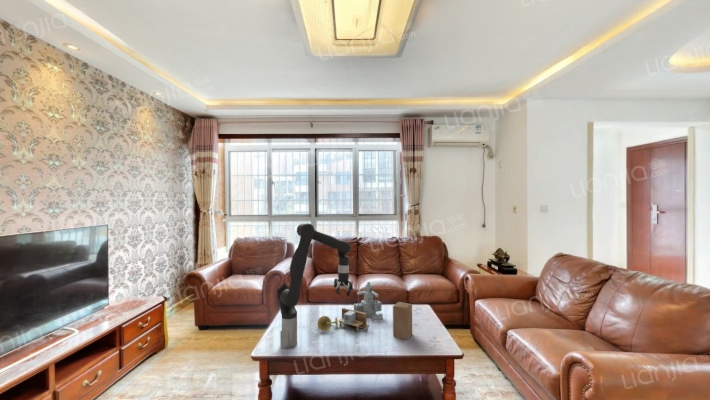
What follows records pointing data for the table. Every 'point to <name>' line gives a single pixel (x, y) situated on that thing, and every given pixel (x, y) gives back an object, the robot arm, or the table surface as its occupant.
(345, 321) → the grey rectangular box
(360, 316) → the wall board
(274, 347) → the table surface
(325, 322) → the wall sconce
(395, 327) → the block
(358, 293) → the castle model
